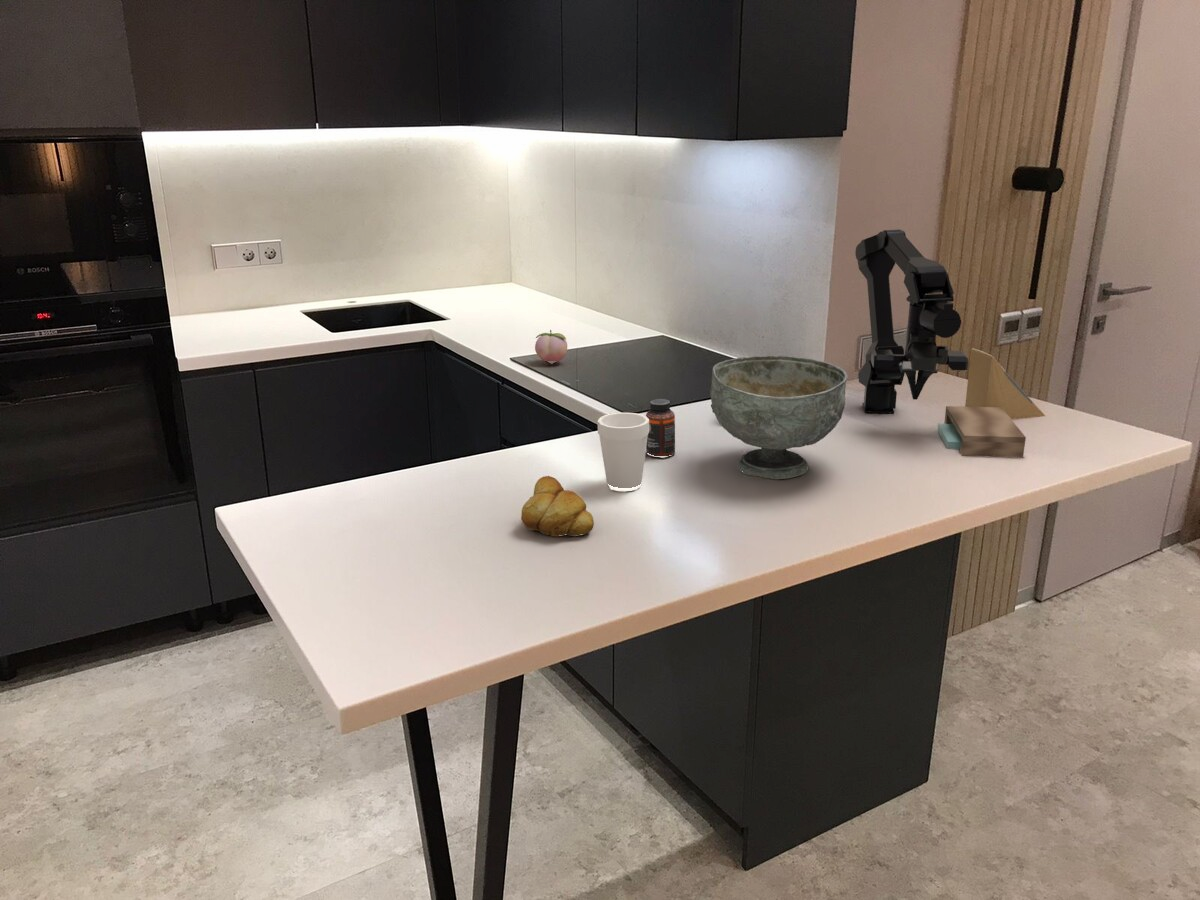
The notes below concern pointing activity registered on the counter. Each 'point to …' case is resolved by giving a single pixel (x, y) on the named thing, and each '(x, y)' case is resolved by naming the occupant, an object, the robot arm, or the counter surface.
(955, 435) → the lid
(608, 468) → the foam cup
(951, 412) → the low shelf
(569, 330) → the counter surface
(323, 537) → the counter surface
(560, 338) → the decorative fruit
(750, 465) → the decorative bowl
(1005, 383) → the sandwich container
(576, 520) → the bread roll
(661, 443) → the supplement bottle
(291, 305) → the counter surface
